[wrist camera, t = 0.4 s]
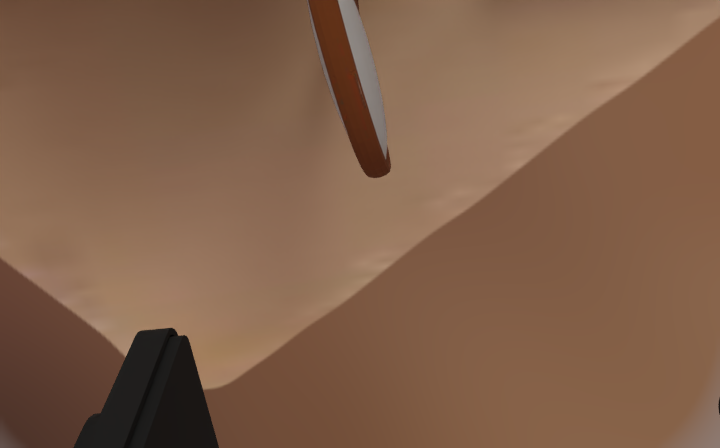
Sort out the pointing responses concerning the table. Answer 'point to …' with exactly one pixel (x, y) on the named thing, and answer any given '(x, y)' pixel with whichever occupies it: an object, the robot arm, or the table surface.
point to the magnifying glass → (352, 80)
